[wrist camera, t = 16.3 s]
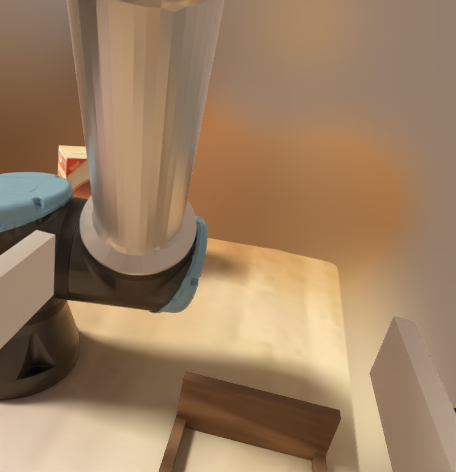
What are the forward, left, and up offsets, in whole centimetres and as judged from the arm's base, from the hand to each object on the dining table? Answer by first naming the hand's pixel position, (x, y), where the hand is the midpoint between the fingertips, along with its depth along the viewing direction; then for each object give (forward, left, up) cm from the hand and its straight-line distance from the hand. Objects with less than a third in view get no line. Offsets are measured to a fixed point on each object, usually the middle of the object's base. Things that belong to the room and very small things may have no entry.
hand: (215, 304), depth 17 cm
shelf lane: (-17, +7, -32) cm, 37 cm away
